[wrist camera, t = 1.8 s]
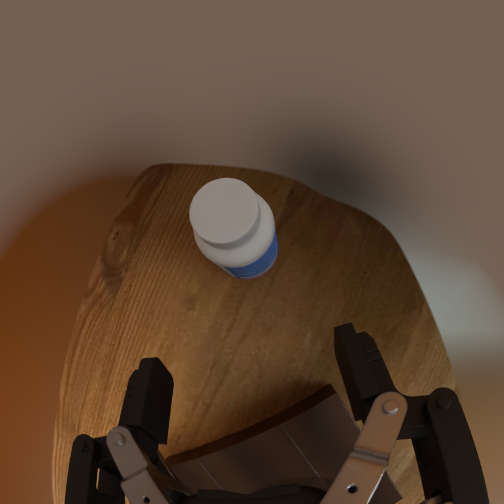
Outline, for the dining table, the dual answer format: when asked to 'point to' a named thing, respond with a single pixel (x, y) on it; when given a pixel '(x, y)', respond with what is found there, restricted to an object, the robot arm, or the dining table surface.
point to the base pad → (281, 452)
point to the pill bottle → (234, 228)
